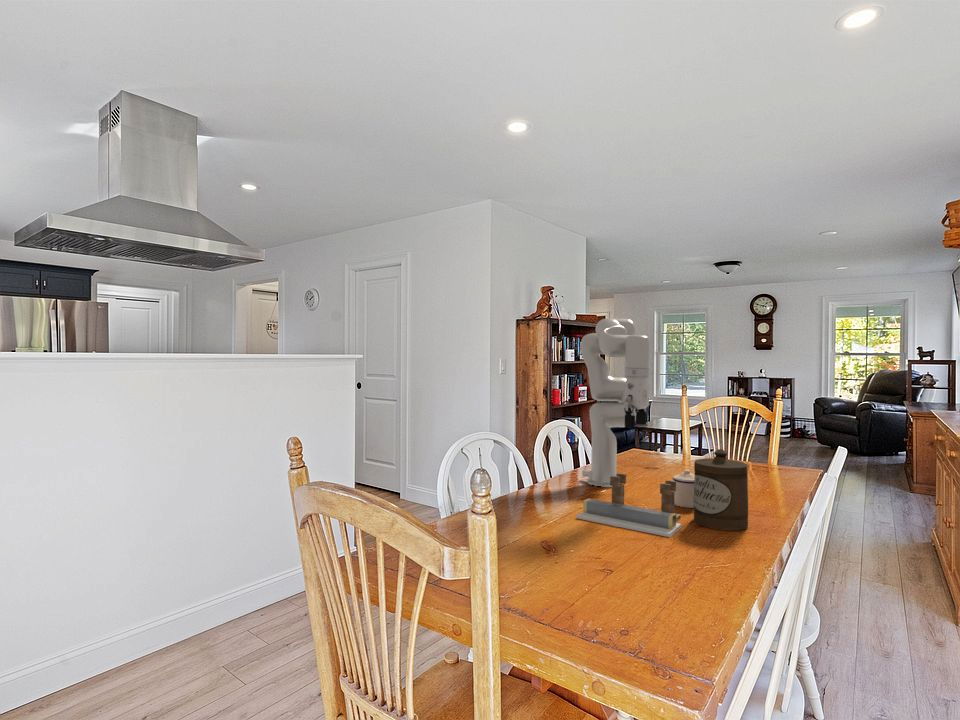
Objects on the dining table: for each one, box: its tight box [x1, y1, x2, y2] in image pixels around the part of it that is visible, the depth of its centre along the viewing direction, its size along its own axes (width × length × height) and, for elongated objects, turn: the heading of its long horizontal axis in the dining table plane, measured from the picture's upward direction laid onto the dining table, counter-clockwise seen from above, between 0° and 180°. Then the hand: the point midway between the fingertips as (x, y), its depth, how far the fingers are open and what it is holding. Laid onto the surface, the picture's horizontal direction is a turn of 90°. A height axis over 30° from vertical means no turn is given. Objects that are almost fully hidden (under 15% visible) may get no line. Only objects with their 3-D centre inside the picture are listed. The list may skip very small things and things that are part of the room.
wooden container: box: [693, 448, 749, 532], centre depth 161 cm, size 15×15×22 cm
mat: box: [576, 511, 683, 538], centre depth 161 cm, size 28×11×1 cm, turn 54°
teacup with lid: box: [672, 469, 695, 509], centre depth 182 cm, size 12×9×12 cm
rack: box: [610, 472, 682, 522], centre depth 170 cm, size 22×6×11 cm, turn 54°
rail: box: [582, 498, 677, 530], centre depth 161 cm, size 27×4×4 cm, turn 54°
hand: (635, 425), depth 176 cm, fingers open, 9 cm apart
